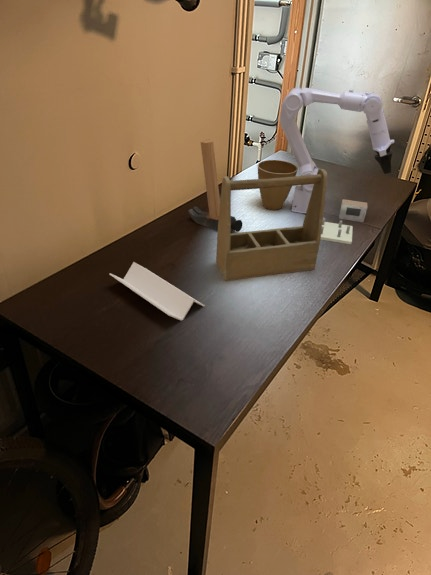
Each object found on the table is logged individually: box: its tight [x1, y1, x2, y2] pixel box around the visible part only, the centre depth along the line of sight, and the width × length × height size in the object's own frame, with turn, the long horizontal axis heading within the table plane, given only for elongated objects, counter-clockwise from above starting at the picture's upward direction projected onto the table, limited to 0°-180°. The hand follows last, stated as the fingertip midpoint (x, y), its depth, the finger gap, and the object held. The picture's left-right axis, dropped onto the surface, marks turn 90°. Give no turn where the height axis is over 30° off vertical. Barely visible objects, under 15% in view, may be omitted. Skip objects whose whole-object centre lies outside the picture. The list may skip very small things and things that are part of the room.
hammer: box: [187, 139, 243, 233], centre depth 146 cm, size 20×5×30 cm, turn 52°
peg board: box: [320, 217, 353, 245], centre depth 151 cm, size 15×12×4 cm
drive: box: [338, 199, 368, 223], centre depth 160 cm, size 9×5×6 cm, turn 74°
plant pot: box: [257, 159, 299, 211], centre depth 164 cm, size 15×15×16 cm
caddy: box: [215, 168, 328, 282], centre depth 124 cm, size 29×11×30 cm, turn 105°
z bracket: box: [109, 261, 206, 321], centre depth 118 cm, size 12×25×6 cm
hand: (387, 169), depth 149 cm, fingers open, 7 cm apart
